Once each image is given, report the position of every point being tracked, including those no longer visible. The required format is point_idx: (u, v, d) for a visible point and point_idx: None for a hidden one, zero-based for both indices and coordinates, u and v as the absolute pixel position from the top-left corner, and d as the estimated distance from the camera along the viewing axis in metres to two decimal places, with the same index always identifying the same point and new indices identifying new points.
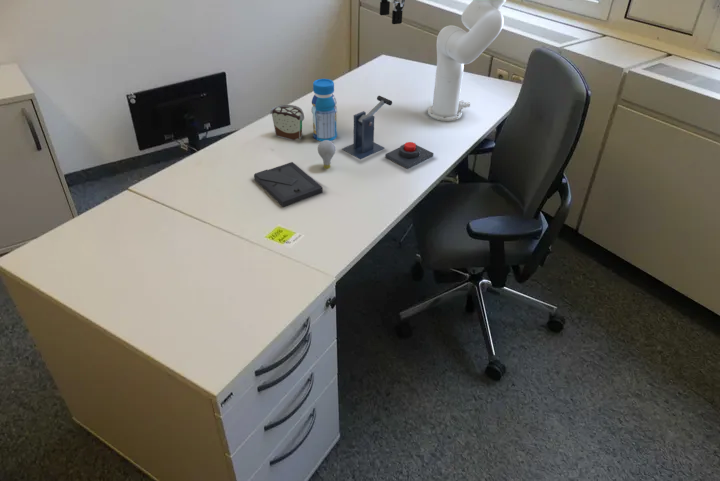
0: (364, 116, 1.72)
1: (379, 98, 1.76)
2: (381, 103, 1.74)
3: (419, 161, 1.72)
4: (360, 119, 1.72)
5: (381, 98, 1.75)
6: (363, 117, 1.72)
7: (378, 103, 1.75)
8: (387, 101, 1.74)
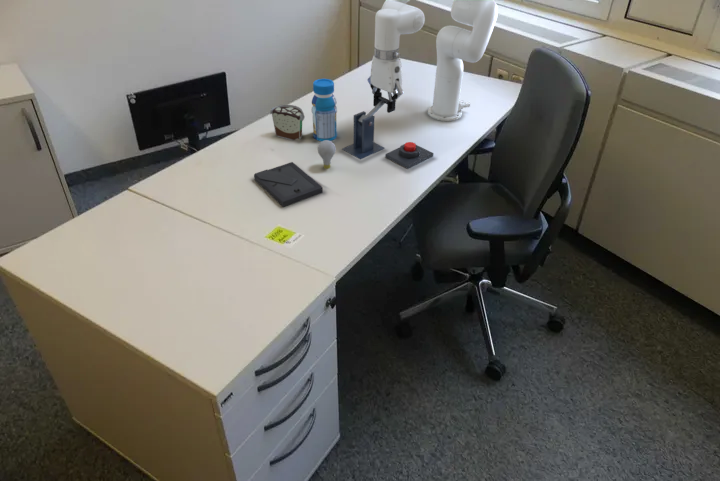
0: (364, 116, 1.72)
1: (379, 98, 1.76)
2: (381, 103, 1.74)
3: (419, 161, 1.72)
4: (360, 119, 1.72)
5: (381, 98, 1.75)
6: (363, 117, 1.72)
7: (378, 103, 1.75)
8: (387, 101, 1.74)
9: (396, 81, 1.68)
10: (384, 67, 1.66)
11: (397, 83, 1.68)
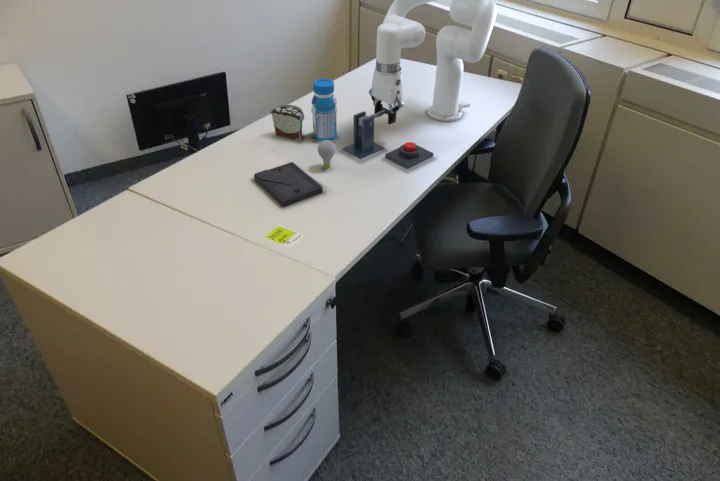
0: (365, 116, 1.73)
1: (381, 108, 1.79)
2: (383, 111, 1.77)
3: (419, 161, 1.72)
4: (361, 117, 1.72)
5: (384, 108, 1.78)
6: (364, 117, 1.73)
7: (380, 111, 1.77)
8: (389, 111, 1.77)
9: (397, 94, 1.71)
10: (385, 80, 1.69)
11: (398, 96, 1.71)
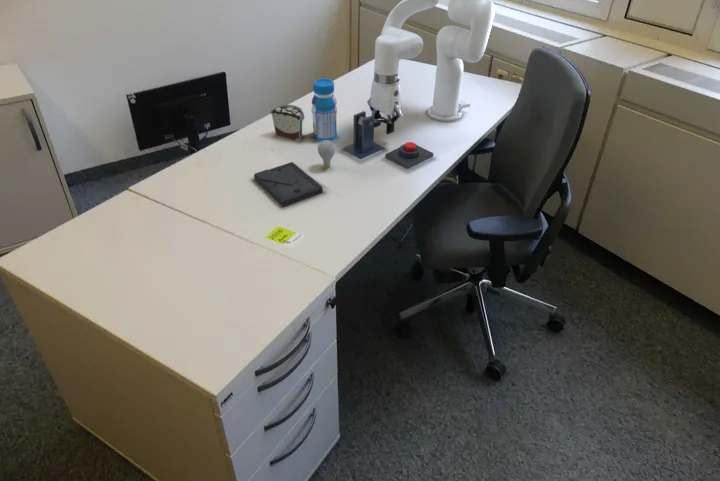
0: (366, 117, 1.73)
1: (380, 117, 1.81)
2: (382, 119, 1.78)
3: (419, 161, 1.72)
4: (362, 116, 1.72)
5: (383, 117, 1.80)
6: (365, 117, 1.73)
7: (379, 118, 1.79)
8: None
9: (395, 104, 1.72)
10: (383, 91, 1.71)
11: (396, 106, 1.73)
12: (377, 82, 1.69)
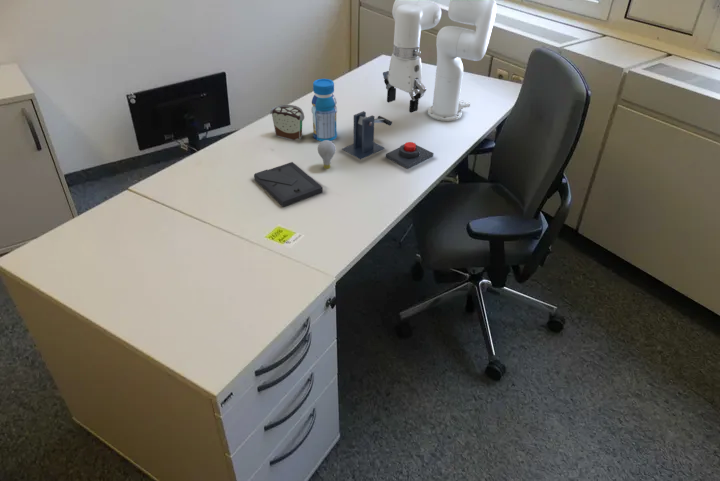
0: (366, 117, 1.73)
1: (380, 117, 1.81)
2: (382, 119, 1.78)
3: (419, 161, 1.72)
4: (362, 116, 1.72)
5: None
6: (365, 117, 1.73)
7: (379, 118, 1.79)
8: (388, 120, 1.79)
9: (416, 79, 1.59)
10: (403, 66, 1.58)
11: (417, 81, 1.59)
12: (396, 56, 1.57)
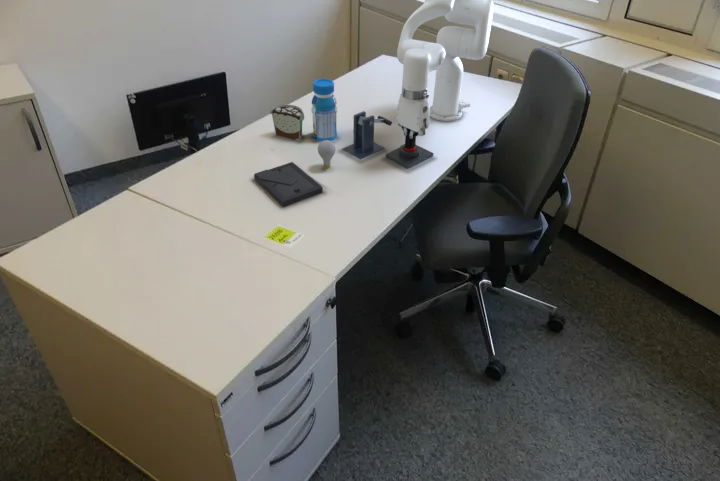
0: (366, 117, 1.73)
1: (380, 117, 1.81)
2: (382, 119, 1.78)
3: (419, 161, 1.72)
4: (362, 116, 1.72)
5: None
6: (365, 117, 1.73)
7: (379, 118, 1.79)
8: (388, 120, 1.79)
9: None
10: (412, 107, 1.62)
11: (422, 124, 1.65)
12: (405, 98, 1.60)
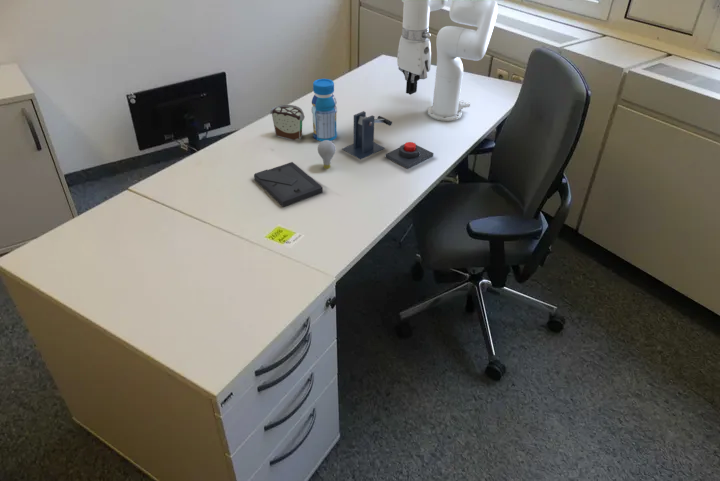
0: (366, 117, 1.73)
1: (380, 117, 1.81)
2: (382, 119, 1.78)
3: (419, 161, 1.72)
4: (362, 116, 1.72)
5: None
6: (365, 117, 1.73)
7: (379, 118, 1.79)
8: (388, 120, 1.79)
9: (424, 64, 1.60)
10: (413, 48, 1.58)
11: (424, 67, 1.61)
12: (406, 38, 1.56)
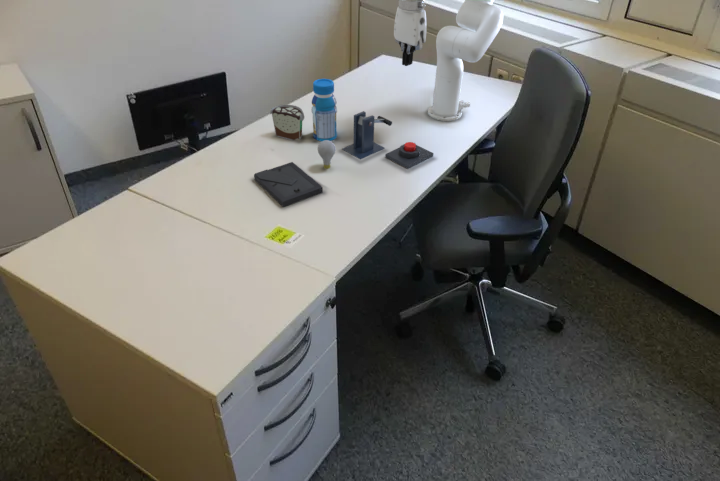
0: (366, 117, 1.73)
1: (380, 117, 1.81)
2: (382, 119, 1.78)
3: (419, 161, 1.72)
4: (362, 116, 1.72)
5: None
6: (365, 117, 1.73)
7: (379, 118, 1.79)
8: (388, 120, 1.79)
9: None
10: (409, 18, 1.62)
11: (419, 37, 1.65)
12: (402, 9, 1.61)
